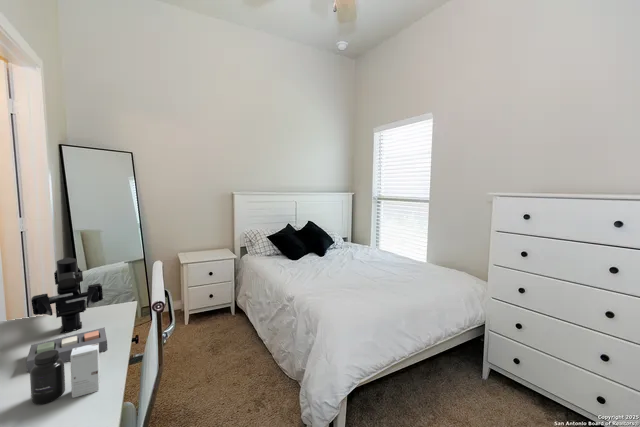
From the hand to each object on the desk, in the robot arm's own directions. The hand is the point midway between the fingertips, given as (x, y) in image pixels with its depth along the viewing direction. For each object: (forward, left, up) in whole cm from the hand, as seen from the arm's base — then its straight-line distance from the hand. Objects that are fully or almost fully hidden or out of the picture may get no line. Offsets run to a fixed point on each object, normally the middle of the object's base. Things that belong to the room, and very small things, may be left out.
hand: (70, 309), depth 98 cm
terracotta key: (-3, +5, -14) cm, 15 cm away
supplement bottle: (+21, -5, -16) cm, 27 cm away
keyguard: (-3, -1, -16) cm, 16 cm away
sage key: (-3, -7, -14) cm, 16 cm away
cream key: (-3, -1, -14) cm, 14 cm away
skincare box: (+24, +3, -16) cm, 29 cm away
